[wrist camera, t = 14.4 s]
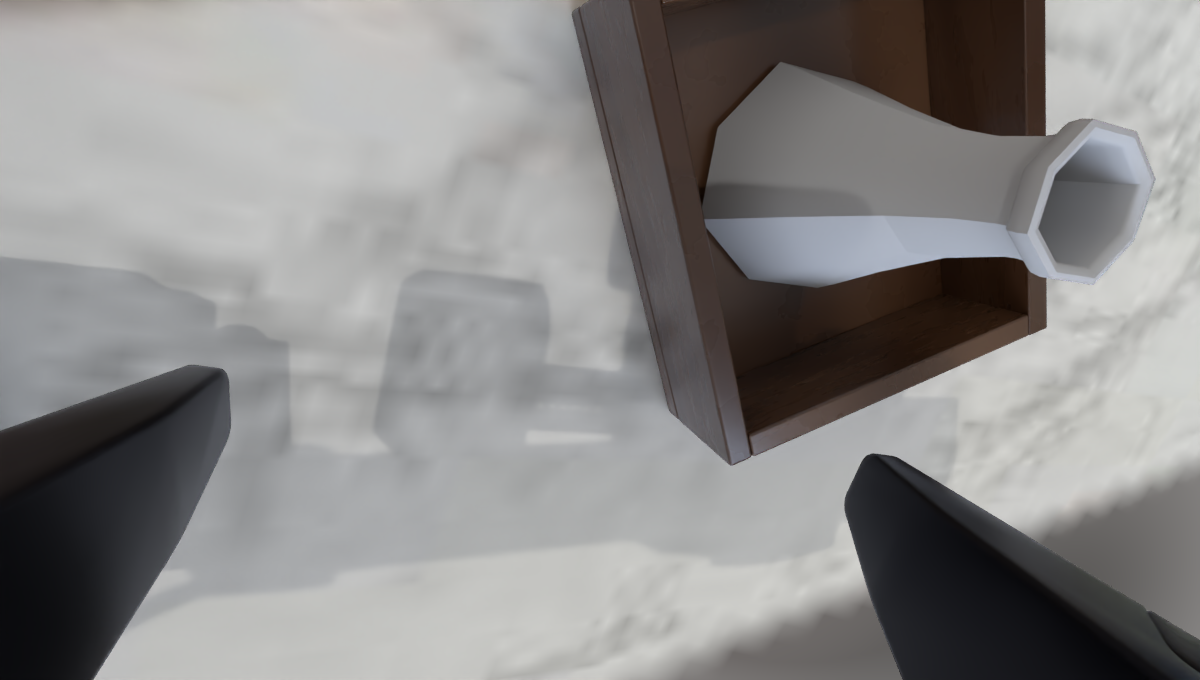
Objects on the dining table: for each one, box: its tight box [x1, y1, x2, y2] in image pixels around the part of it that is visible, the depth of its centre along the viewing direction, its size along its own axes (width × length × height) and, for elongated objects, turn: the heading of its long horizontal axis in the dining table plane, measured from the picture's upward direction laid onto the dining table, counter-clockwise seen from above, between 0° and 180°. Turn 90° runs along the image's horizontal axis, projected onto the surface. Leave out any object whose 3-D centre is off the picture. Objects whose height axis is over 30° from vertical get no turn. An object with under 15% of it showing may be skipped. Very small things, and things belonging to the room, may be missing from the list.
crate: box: [572, 0, 1047, 465], centre depth 21 cm, size 13×14×4 cm
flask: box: [702, 62, 1156, 288], centre depth 17 cm, size 7×7×10 cm
